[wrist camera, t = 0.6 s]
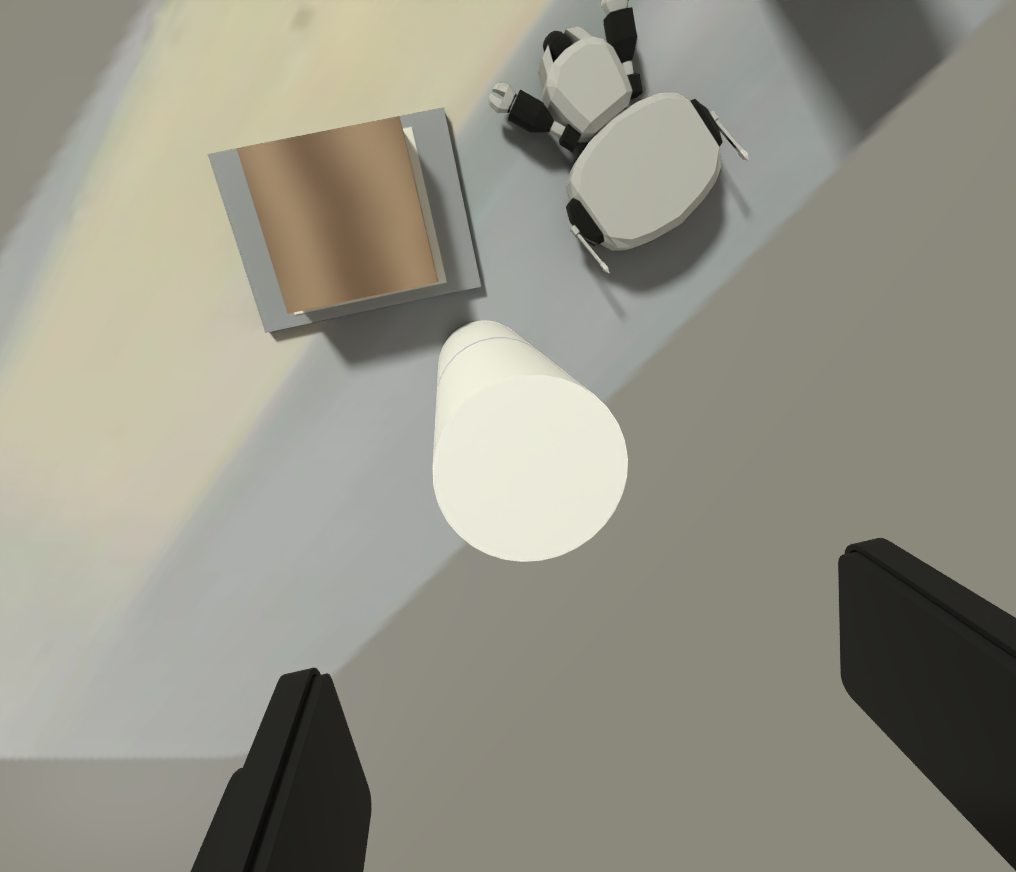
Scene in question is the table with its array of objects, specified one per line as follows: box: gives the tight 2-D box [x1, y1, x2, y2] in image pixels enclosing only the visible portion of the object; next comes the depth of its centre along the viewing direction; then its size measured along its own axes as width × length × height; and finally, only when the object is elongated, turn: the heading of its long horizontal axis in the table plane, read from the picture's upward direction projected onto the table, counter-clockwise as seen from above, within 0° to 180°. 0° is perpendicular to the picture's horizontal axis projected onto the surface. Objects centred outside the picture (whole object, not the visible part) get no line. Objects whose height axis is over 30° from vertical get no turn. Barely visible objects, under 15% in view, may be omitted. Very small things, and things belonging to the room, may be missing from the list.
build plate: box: [208, 108, 481, 333], centre depth 40 cm, size 16×12×1 cm
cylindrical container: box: [433, 321, 628, 562], centre depth 33 cm, size 7×7×25 cm
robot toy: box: [489, 0, 749, 274], centre depth 40 cm, size 12×4×15 cm
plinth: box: [237, 116, 438, 314], centre depth 38 cm, size 10×10×4 cm
